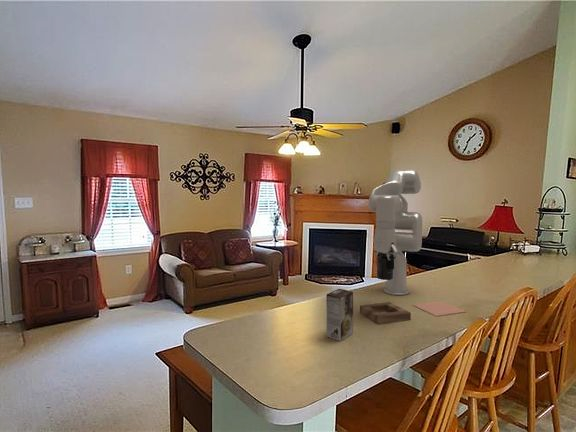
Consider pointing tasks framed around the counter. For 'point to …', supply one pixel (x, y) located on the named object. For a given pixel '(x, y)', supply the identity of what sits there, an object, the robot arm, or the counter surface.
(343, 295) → the coffee box
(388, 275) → the supplement bottle
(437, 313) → the terracotta mat
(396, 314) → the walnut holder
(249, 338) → the counter surface
